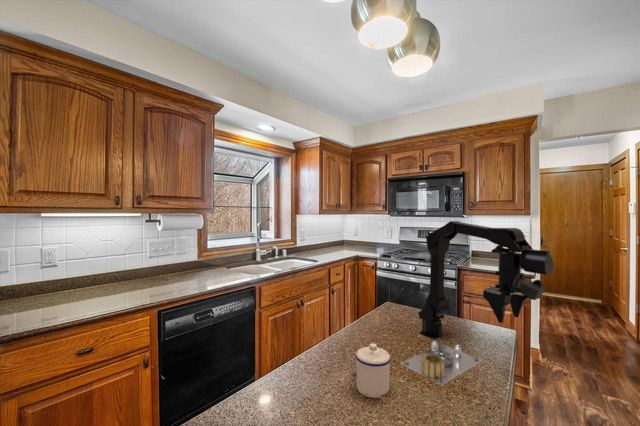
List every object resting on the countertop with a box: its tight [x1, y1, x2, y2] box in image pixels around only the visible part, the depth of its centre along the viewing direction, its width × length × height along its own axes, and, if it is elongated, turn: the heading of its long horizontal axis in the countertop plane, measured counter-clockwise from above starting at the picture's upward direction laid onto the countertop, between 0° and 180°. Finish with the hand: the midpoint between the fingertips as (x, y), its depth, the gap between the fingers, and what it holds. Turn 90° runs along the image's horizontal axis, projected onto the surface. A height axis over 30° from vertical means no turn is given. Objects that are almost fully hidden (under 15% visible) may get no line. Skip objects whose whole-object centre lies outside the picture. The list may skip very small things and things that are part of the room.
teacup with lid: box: [354, 343, 391, 399], centre depth 79 cm, size 12×9×12 cm
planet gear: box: [421, 354, 444, 379], centre depth 84 cm, size 6×6×4 cm
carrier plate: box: [399, 339, 484, 386], centre depth 90 cm, size 14×23×4 cm, turn 126°
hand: (508, 319), depth 89 cm, fingers open, 9 cm apart
